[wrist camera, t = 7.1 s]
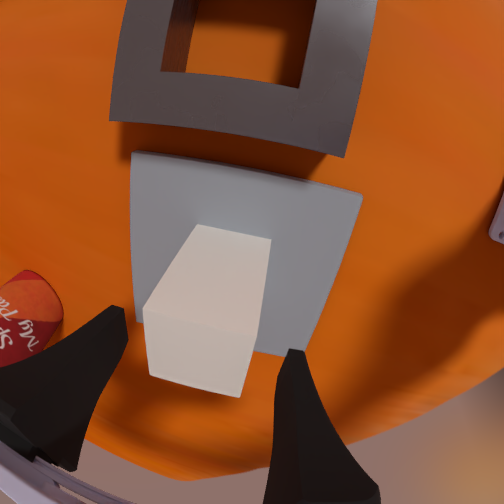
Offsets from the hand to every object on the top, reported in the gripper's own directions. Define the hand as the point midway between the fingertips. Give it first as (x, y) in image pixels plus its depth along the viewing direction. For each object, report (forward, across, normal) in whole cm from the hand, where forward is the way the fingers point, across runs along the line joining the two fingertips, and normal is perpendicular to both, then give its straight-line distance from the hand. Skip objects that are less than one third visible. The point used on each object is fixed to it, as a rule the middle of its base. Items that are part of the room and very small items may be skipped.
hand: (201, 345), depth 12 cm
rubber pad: (+6, 0, 0) cm, 6 cm away
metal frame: (+6, +1, -18) cm, 19 cm away
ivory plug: (+6, 0, -1) cm, 6 cm away
